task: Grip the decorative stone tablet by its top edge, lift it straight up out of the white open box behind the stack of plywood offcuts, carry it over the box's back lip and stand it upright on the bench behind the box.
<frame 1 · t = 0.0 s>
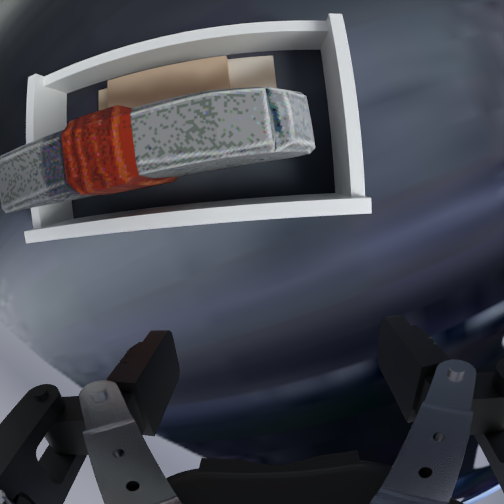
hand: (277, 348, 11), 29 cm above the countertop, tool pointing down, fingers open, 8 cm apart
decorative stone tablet: (186, 155, 38), on the countertop
middle offcut: (195, 92, 35), point 1 cm above the countertop, touching bottom offcut, top offcut
top offcut: (169, 92, 34), point 3 cm above the countertop, touching middle offcut
white open box: (185, 155, 38), on the countertop
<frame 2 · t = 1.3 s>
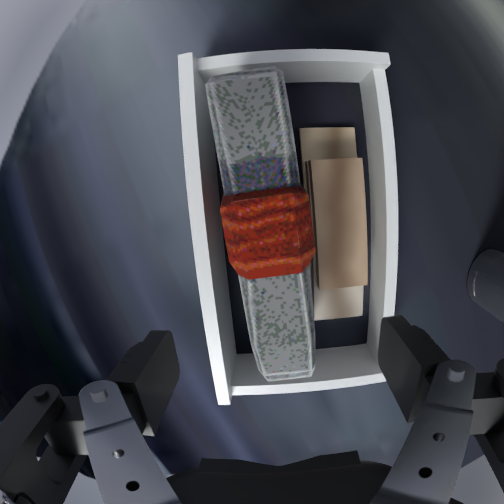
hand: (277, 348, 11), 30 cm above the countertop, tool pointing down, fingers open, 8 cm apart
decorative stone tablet: (270, 225, 40), on the countertop
middle offcut: (335, 239, 39), point 1 cm above the countertop, touching bottom offcut, top offcut
bottom offcut: (330, 220, 40), on the countertop, touching middle offcut
top offcut: (337, 222, 36), point 3 cm above the countertop, touching middle offcut
white open box: (270, 225, 40), on the countertop
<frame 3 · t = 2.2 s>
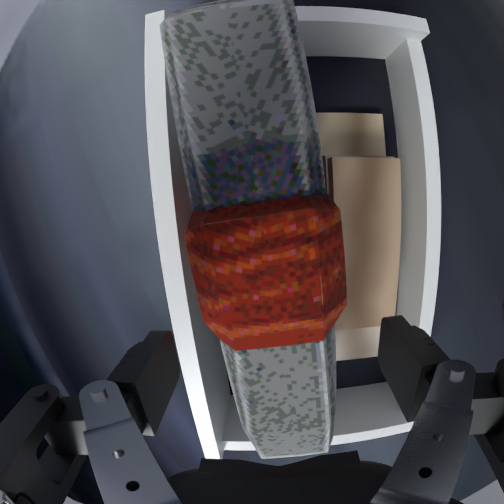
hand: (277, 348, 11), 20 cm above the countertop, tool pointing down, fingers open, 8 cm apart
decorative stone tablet: (273, 241, 31), on the countertop
middle offcut: (356, 260, 30), point 1 cm above the countertop, touching bottom offcut, top offcut
bottom offcut: (350, 234, 31), on the countertop, touching middle offcut
top offcut: (362, 242, 27), point 3 cm above the countertop, touching middle offcut
white open box: (273, 241, 31), on the countertop
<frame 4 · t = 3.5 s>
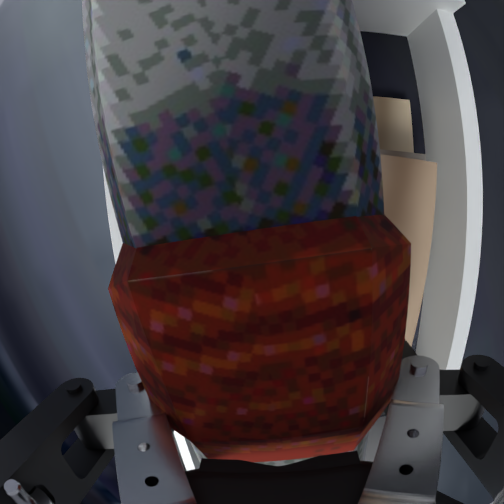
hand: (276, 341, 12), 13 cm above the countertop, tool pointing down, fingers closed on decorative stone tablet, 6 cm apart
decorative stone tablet: (272, 256, 25), on the countertop, touching gripper
bottom offcut: (365, 246, 25), on the countertop, touching middle offcut
top offcut: (379, 264, 21), point 3 cm above the countertop, touching middle offcut
white open box: (272, 257, 25), on the countertop
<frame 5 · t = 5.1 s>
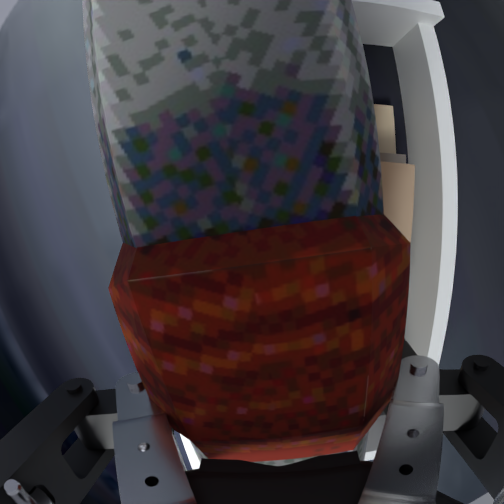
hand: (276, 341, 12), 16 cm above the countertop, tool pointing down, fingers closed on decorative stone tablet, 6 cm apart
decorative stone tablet: (272, 256, 25), point 3 cm above the countertop, touching gripper
bottom offcut: (353, 237, 28), on the countertop, touching middle offcut
top offcut: (365, 256, 24), point 3 cm above the countertop, touching middle offcut
white open box: (269, 247, 27), on the countertop
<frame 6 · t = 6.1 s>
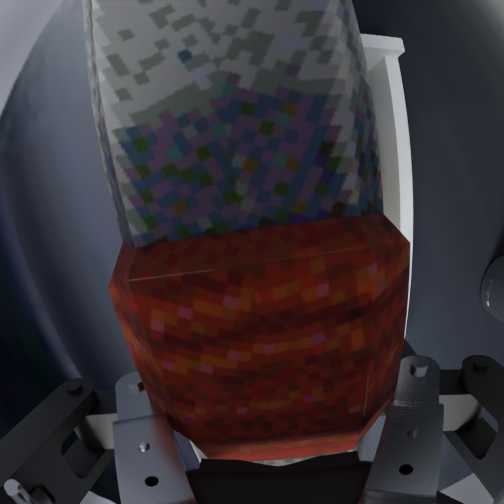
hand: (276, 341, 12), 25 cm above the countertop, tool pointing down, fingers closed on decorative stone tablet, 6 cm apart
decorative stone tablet: (272, 256, 25), point 11 cm above the countertop, touching gripper
white open box: (269, 231, 36), on the countertop
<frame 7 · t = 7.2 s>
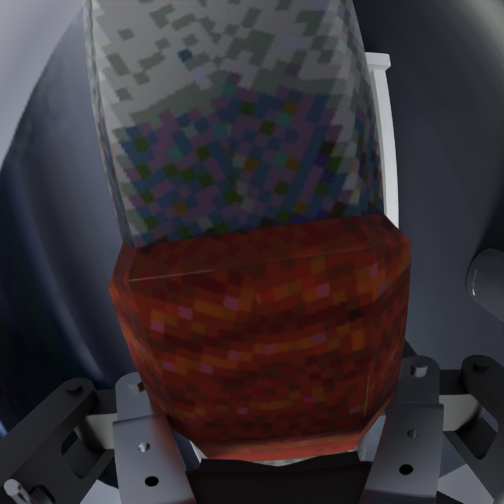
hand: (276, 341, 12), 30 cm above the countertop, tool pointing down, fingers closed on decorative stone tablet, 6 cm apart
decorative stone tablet: (272, 256, 25), point 16 cm above the countertop, touching gripper
white open box: (272, 225, 40), on the countertop
when the fingers open (14 cm above the countertop, at t = 13.8 s): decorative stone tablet drops 1 cm, on the countertop.
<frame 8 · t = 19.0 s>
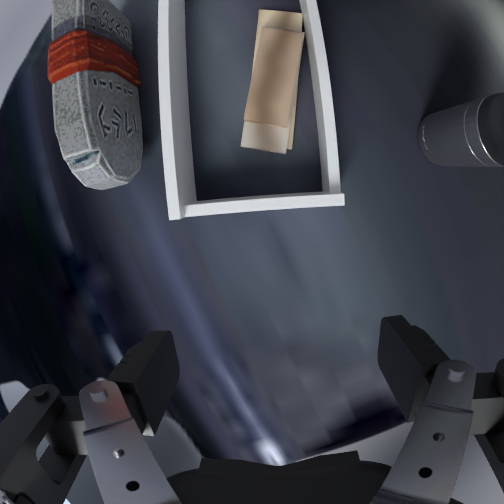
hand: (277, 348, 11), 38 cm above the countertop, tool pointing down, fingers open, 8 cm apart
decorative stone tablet: (126, 99, 45), on the countertop
middle offcut: (273, 88, 42), point 1 cm above the countertop, touching bottom offcut, top offcut
bottom offcut: (275, 76, 44), on the countertop, touching middle offcut
top offcut: (274, 77, 40), point 3 cm above the countertop, touching middle offcut
white open box: (226, 82, 44), on the countertop
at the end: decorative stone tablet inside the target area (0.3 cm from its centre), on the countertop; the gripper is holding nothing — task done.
